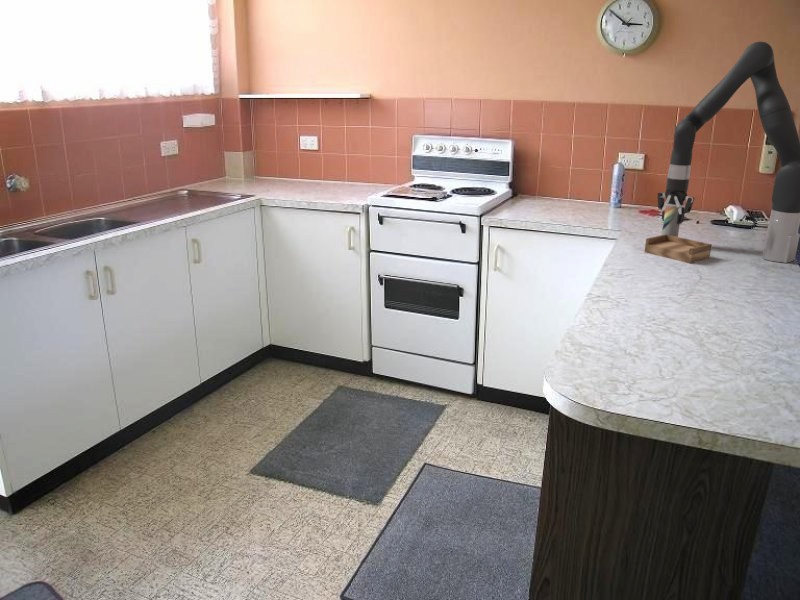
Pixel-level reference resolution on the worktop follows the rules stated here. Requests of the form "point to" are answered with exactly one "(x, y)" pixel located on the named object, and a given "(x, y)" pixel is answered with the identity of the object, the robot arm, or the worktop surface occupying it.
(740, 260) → the worktop surface
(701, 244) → the wooden serving tray
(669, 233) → the lotion bottle
